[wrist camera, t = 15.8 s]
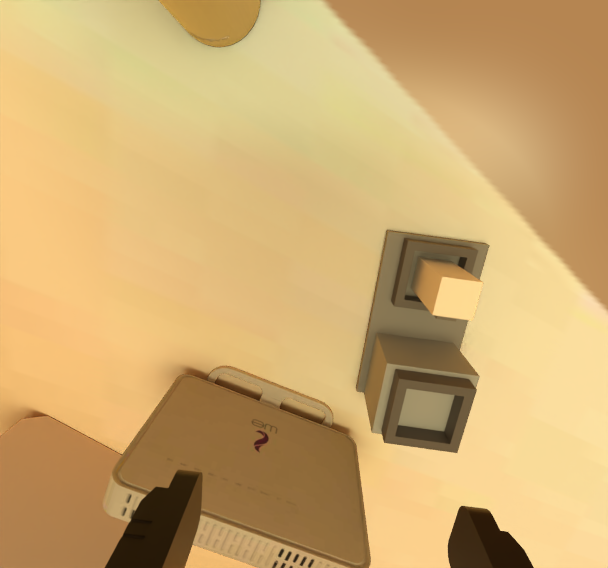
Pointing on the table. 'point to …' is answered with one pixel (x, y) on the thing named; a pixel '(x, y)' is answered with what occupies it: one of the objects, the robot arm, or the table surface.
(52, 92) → the table surface
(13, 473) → the game console
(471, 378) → the grey stepped block
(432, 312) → the plug
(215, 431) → the network device
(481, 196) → the table surface
